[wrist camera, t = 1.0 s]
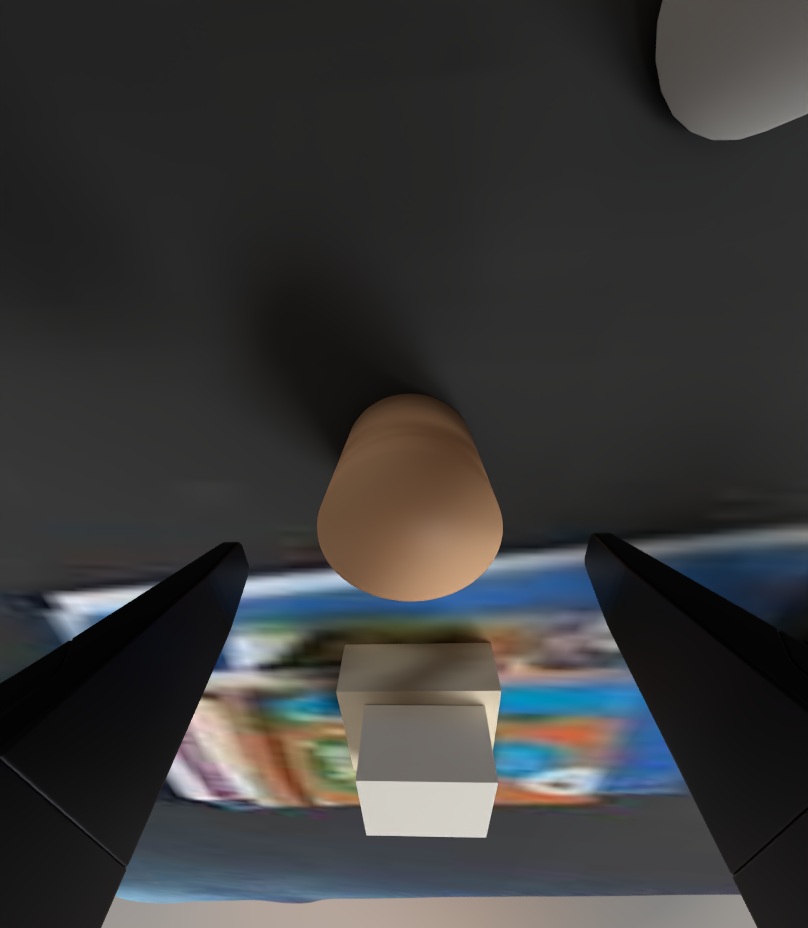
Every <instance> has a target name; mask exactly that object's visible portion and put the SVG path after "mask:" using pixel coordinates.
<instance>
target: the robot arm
mask: <svg viewBox="0 0 808 928" xmlns="http://www.w3.org/2000/svg"><path fill="white" fill-rule="evenodd" d="M585 567H586V570H587V572H588V575H589V578H590V580H591V583H592V586H593V588H594V591H595V594H596V597H597V599H598V602H599V605H600V607H601V610H602V613H603V615H604V618H605V620H606V623H607V625H608V627H609V629H610V632H611V634H612V636H613V638H614V640H615V642H616V644H617V646H618V648H619V650H620V652H621V654H622V656H623V658H624V660H625V662H626V664H627V666H628V668H629V670H630V672H631V674H632V676H633V678H634V680H635V682H636V684H637V686H638V688H639V690H640V692H641V694H642V696H643V698H644V700H645V702H646V704H647V706H648V708H649V710H650V712H651V714H652V716H653V718H654V720H655V722H656V724H657V726H658V728H659V730H660V732H661V734H662V736H663V738H664V740H665V742H666V744H667V746H668V748H669V750H670V752H671V754H672V756H673V758H674V760H675V762H676V764H677V766H678V768H679V770H680V772H681V774H682V776H683V778H684V780H685V782H686V784H687V786H688V788H689V790H690V792H691V794H692V796H693V798H694V800H695V802H696V804H697V806H698V808H699V811H700V813H701V815H702V817H703V819H704V821H705V823H706V825H707V827H708V829H709V831H710V833H711V835H712V837H713V839H714V841H715V843H716V845H717V847H718V849H719V851H720V853H721V855H722V857H723V859H724V861H725V863H726V865H727V867H728V869H729V871H730V872H731V874H733V880H734V882H735V884H736V886H737V888H738V890H739V892H740V894H741V896H742V897H743V900H744V902H745V904H746V906H747V908H748V910H749V912H750V913H751V916H752V918H753V920H754V922H755V924H756V926H757V928H808V646H807V645H806V644H804V643H802V642H800V641H799V640H797V639H795V638H793V637H792V636H790V635H788V634H786V633H785V632H783V631H778V629H777V628H776V627H774V626H772V625H770V624H769V623H767V622H765V621H763V620H762V619H760V618H758V617H756V616H755V615H753V614H751V613H749V612H748V611H746V610H744V609H742V608H741V607H739V606H737V605H735V604H734V603H732V602H730V601H728V600H727V599H725V598H723V597H721V596H720V595H718V594H716V593H714V592H713V591H711V590H709V589H707V588H706V587H704V586H702V585H700V584H699V583H697V582H695V581H693V580H692V579H690V578H688V577H686V576H685V575H683V574H681V573H679V572H678V571H676V570H674V569H672V568H671V567H669V566H667V565H665V564H664V563H662V562H660V561H658V560H657V559H655V558H653V557H651V556H650V555H648V554H646V553H644V552H643V551H641V550H639V549H637V548H635V547H634V546H632V545H630V544H628V543H627V542H625V541H623V540H621V539H620V538H618V537H616V536H614V535H613V534H611V533H594V534H592V535H591V536H590V539H589V543H588V547H587V551H586V555H585ZM248 573H249V565H248V562H247V559H246V556H245V553H244V550H243V547H242V545H241V544H240V543H239V542H224V543H221V544H220V545H218V546H217V547H215V548H214V549H212V550H210V551H209V552H207V553H206V554H204V555H203V556H201V557H199V558H198V559H196V560H195V561H193V562H192V563H190V564H188V565H187V566H185V567H184V568H182V569H181V570H179V571H178V572H176V573H174V574H173V575H171V576H170V577H168V578H167V579H165V580H163V581H162V582H160V583H159V584H157V585H156V586H154V587H152V588H151V589H149V590H148V591H146V592H145V593H143V594H141V595H140V596H138V597H137V598H135V599H134V600H132V601H130V602H129V603H127V604H126V605H124V606H123V607H121V608H120V609H118V610H116V611H115V612H113V613H112V614H110V615H109V616H107V617H105V618H104V619H102V620H101V621H99V622H98V623H96V624H94V625H93V626H91V627H90V628H88V629H87V630H85V631H83V632H82V633H80V634H79V635H77V636H76V637H74V638H73V640H72V641H68V642H66V643H65V644H63V645H61V646H60V647H58V648H57V649H55V650H54V651H52V652H51V653H49V654H47V655H46V656H44V657H43V658H41V659H39V660H38V661H36V662H35V663H33V664H31V665H30V666H28V667H27V668H25V669H23V670H22V671H20V672H18V673H17V674H15V675H14V676H12V677H10V678H8V679H7V680H5V681H3V682H2V683H0V928H101V927H102V924H103V922H104V920H105V917H106V915H107V913H108V911H109V908H110V906H111V904H112V902H113V899H114V897H115V895H116V892H117V890H118V888H119V886H120V883H121V881H122V879H123V876H124V874H125V872H126V868H125V867H127V866H128V864H129V862H130V859H131V857H132V855H133V853H134V850H135V848H136V846H137V843H138V841H139V839H140V837H141V834H142V832H143V830H144V827H145V825H146V823H147V821H148V818H149V816H150V814H151V811H152V809H153V807H154V804H155V802H156V800H157V798H158V795H159V793H160V791H161V788H162V786H163V784H164V782H165V779H166V777H167V775H168V772H169V770H170V768H171V765H172V763H173V761H174V759H175V756H176V754H177V752H178V749H179V747H180V745H181V743H182V740H183V738H184V736H185V733H186V731H187V729H188V727H189V724H190V722H191V720H192V717H193V715H194V713H195V710H196V708H197V706H198V704H199V701H200V699H201V697H202V694H203V692H204V690H205V688H206V685H207V683H208V681H209V678H210V676H211V674H212V671H213V669H214V667H215V665H216V662H217V660H218V658H219V655H220V653H221V651H222V649H223V646H224V644H225V642H226V639H227V637H228V635H229V632H230V630H231V627H232V624H233V621H234V618H235V615H236V612H237V609H238V605H239V602H240V599H241V596H242V593H243V590H244V587H245V583H246V580H247V577H248Z"/></svg>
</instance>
